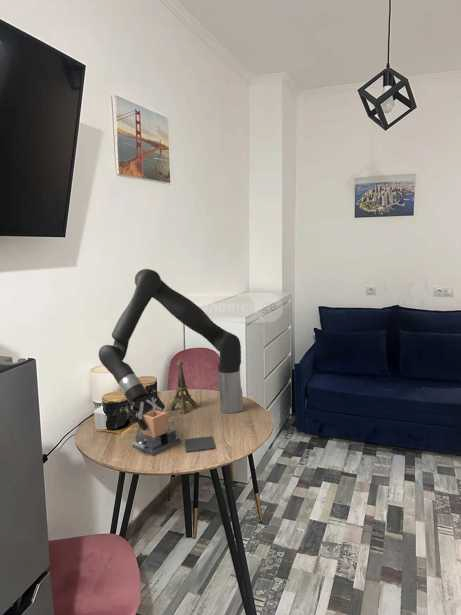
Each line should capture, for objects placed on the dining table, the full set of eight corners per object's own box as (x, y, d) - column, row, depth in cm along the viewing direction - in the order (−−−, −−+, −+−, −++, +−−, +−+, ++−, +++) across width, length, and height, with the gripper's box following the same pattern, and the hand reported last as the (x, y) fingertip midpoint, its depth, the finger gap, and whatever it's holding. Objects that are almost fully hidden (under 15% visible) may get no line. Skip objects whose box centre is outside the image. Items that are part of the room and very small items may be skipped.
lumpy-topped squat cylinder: (92, 428, 183) (89, 407, 181) (116, 416, 193) (114, 397, 192) (110, 432, 177) (108, 411, 176) (134, 420, 188) (132, 400, 186)
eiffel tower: (182, 403, 206) (178, 349, 202) (200, 406, 199) (196, 351, 196) (166, 410, 197) (161, 354, 194) (184, 414, 191) (179, 356, 188)
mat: (211, 437, 167) (211, 436, 167) (215, 449, 157) (215, 447, 157) (184, 440, 165) (184, 439, 165) (186, 452, 155) (186, 451, 155)
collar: (156, 427, 167) (155, 409, 166) (168, 431, 163) (166, 413, 162) (143, 433, 162) (141, 415, 161) (154, 437, 158) (152, 418, 157)
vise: (160, 434, 172) (158, 408, 170) (180, 441, 164) (178, 414, 163) (128, 449, 161) (125, 421, 159) (148, 457, 153) (145, 428, 152)
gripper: (120, 388, 161) (143, 426, 155) (152, 378, 171) (175, 413, 165) (113, 400, 165) (135, 437, 159) (144, 389, 175) (166, 424, 169)
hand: (155, 425), depth 162 cm, fingers open, 8 cm apart
